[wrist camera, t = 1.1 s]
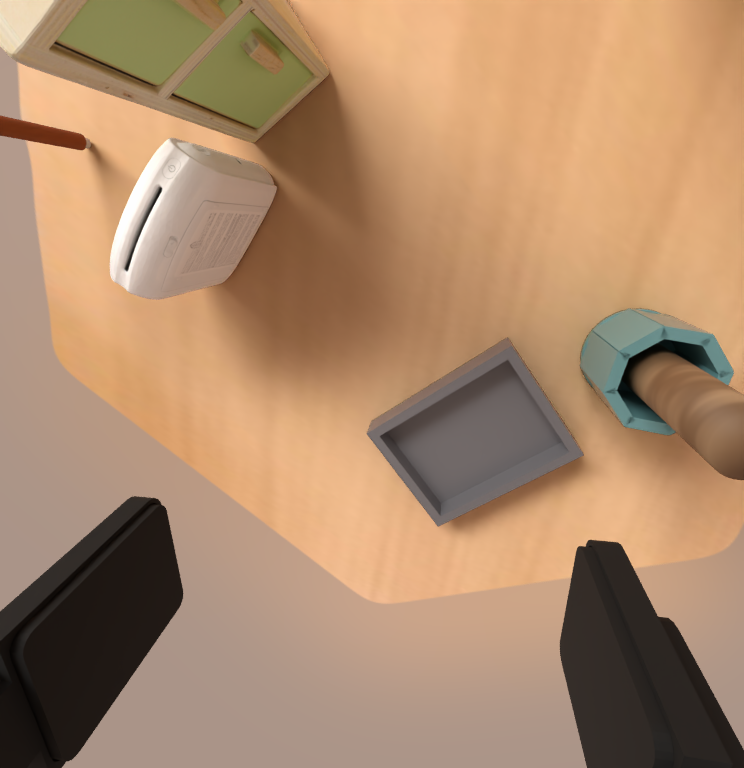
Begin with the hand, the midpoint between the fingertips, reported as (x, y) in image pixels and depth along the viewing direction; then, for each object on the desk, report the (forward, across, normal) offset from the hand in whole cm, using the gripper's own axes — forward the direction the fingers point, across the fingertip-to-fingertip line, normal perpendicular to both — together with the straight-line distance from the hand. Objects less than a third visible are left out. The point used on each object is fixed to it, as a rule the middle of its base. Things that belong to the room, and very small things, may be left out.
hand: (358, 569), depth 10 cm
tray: (+29, -4, +11) cm, 31 cm away
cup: (+29, -16, +3) cm, 34 cm away
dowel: (+29, -16, +3) cm, 33 cm away
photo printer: (+30, +16, -7) cm, 34 cm away
